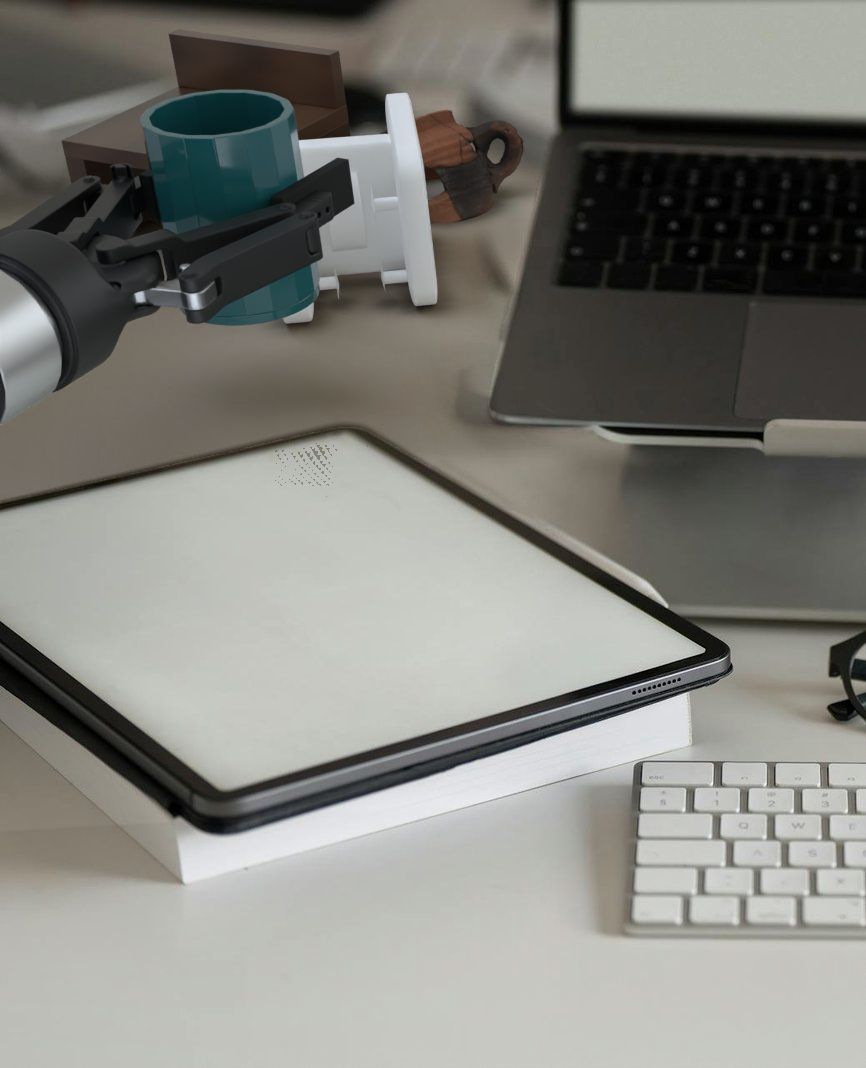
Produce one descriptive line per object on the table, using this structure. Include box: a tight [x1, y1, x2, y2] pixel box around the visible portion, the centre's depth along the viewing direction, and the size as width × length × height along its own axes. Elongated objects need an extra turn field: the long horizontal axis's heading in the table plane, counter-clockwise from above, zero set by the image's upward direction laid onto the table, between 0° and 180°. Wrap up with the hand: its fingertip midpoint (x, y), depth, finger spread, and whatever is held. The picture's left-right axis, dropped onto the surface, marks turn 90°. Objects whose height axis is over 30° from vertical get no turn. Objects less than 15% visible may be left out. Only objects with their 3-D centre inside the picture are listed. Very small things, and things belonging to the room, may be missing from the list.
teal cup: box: [140, 90, 321, 327], centre depth 96 cm, size 8×8×11 cm
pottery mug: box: [379, 109, 525, 224], centre depth 129 cm, size 12×10×8 cm
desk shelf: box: [61, 29, 351, 224], centre depth 123 cm, size 14×14×12 cm
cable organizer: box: [282, 92, 438, 325], centre depth 114 cm, size 15×11×12 cm
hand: (281, 170), depth 100 cm, fingers closed on teal cup, 8 cm apart
